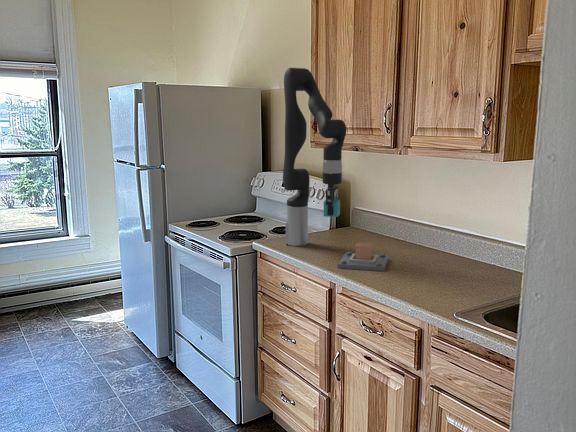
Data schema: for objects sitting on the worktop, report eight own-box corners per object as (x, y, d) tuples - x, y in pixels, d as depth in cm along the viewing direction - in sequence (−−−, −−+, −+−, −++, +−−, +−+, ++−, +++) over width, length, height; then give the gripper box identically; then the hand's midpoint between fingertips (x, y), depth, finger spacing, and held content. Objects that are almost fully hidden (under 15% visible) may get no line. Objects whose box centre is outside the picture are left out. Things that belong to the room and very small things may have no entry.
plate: (337, 267, 196) (337, 261, 195) (345, 256, 212) (345, 250, 211) (383, 271, 191) (384, 264, 191) (388, 259, 207) (388, 253, 207)
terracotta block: (355, 261, 199) (355, 245, 198) (357, 257, 205) (357, 242, 204) (369, 261, 198) (370, 246, 197) (371, 258, 203) (372, 243, 202)
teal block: (323, 216, 208) (323, 201, 207) (326, 213, 213) (326, 199, 212) (337, 217, 207) (337, 201, 206) (339, 214, 212) (340, 199, 211)
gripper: (326, 169, 215) (326, 210, 218) (318, 173, 201) (318, 216, 204) (345, 169, 213) (344, 211, 216) (338, 173, 199) (337, 217, 202)
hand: (331, 213), depth 210 cm, fingers closed on teal block, 5 cm apart
